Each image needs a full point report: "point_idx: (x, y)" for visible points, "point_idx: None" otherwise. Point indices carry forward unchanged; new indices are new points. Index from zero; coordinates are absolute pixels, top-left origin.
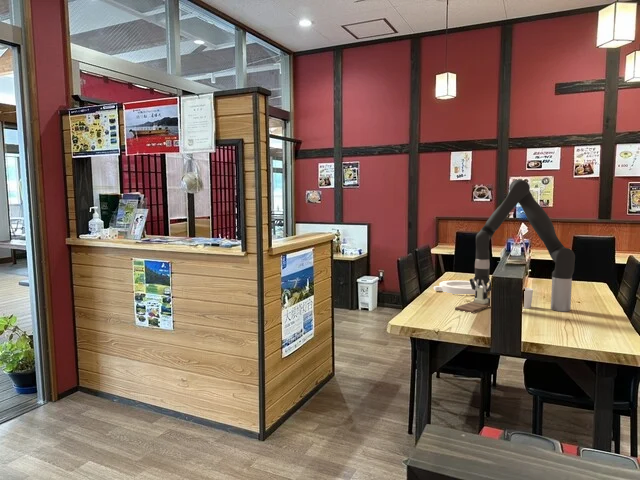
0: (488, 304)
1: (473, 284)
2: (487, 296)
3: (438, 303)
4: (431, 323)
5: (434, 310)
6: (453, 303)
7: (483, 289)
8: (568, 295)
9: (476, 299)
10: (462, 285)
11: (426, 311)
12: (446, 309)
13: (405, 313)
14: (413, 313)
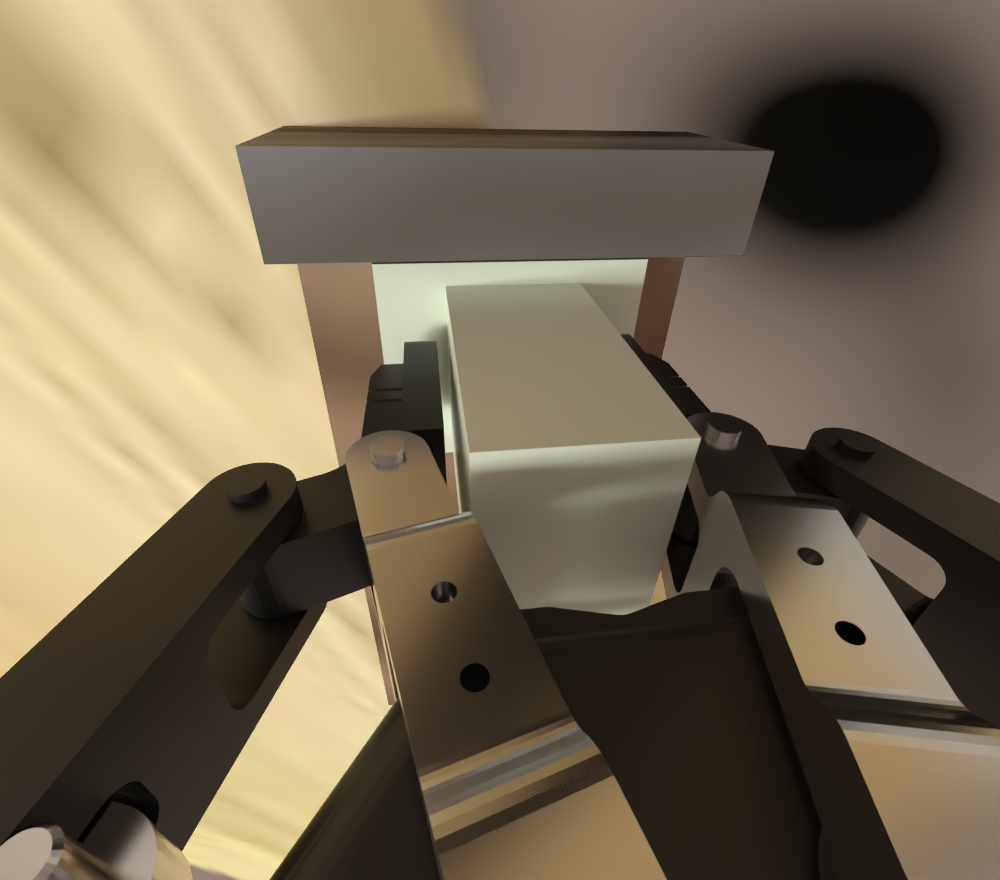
0: (649, 344)
1: (230, 717)
2: (672, 369)
3: (8, 622)
4: None
5: (283, 769)
6: (107, 499)
7: (650, 560)
8: None
9: (452, 450)
10: None
11: (270, 805)
12: (321, 707)
13: (233, 874)
14: (263, 855)
